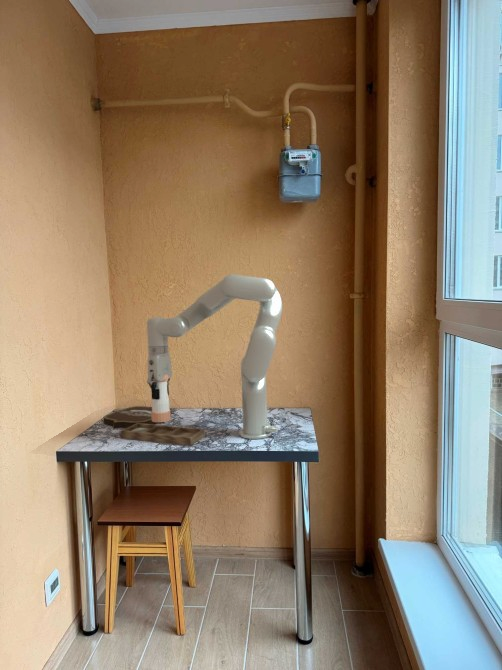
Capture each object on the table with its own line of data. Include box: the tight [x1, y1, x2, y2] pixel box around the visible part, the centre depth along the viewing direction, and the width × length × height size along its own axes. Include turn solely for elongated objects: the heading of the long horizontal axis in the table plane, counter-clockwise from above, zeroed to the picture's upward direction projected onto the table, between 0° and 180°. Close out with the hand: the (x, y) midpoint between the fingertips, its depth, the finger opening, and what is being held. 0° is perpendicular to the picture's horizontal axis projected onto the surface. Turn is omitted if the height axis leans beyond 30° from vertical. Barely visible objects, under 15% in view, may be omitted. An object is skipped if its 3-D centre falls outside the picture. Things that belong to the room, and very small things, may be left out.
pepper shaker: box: [151, 375, 172, 423], centre depth 177 cm, size 7×7×19 cm
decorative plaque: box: [103, 405, 172, 430], centre depth 206 cm, size 30×3×30 cm
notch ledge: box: [119, 423, 206, 447], centre depth 179 cm, size 31×11×3 cm, turn 68°
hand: (160, 396), depth 177 cm, fingers closed on pepper shaker, 5 cm apart
